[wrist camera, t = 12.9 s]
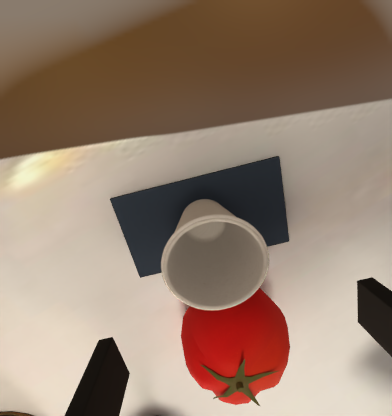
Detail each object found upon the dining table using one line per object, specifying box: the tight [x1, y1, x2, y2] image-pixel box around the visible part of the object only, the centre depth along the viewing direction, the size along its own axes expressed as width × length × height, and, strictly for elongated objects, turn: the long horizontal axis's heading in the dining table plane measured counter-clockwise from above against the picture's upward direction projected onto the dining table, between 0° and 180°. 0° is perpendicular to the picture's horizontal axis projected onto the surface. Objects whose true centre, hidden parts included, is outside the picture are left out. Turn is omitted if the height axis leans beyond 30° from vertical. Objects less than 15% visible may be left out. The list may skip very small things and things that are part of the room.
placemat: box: [110, 156, 289, 278], centre depth 26 cm, size 20×11×1 cm, turn 104°
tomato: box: [181, 288, 290, 406], centre depth 25 cm, size 13×12×11 cm
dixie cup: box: [161, 199, 269, 310], centre depth 21 cm, size 8×8×10 cm
